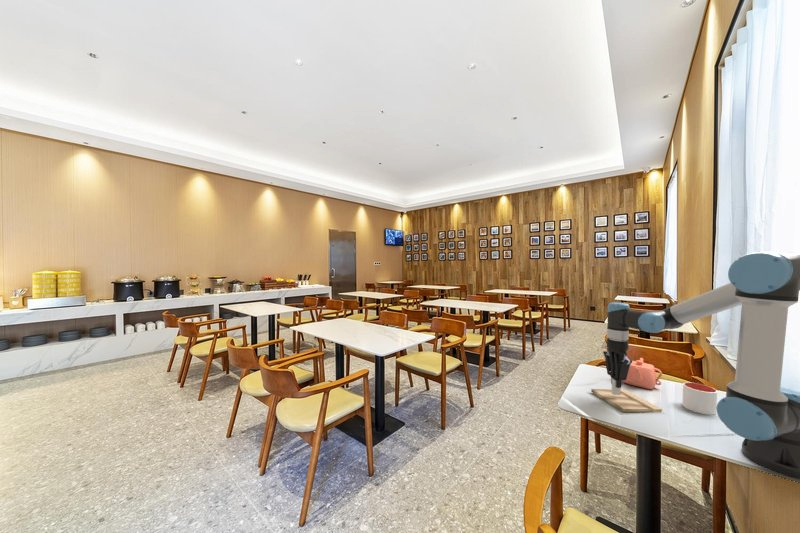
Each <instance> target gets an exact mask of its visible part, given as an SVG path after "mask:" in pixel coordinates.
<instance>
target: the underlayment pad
mask: <svg viewBox="0 0 800 533" xmlns="http://www.w3.org/2000/svg"><path fill="white" fill-rule="evenodd" d="M585 392H586V393H585V394H588V395H589V396H591V397H593V398H594V399H595V400H597V401H599V402H600V403H601V404H603V405H605V406H606V407H608V408H609V409H612V411H614V412H616V413H617V414H618V415H623V416H624V415H626V416H627V415H658V414H659V415H660V414H666V412H663V409H662V408H660V407H658V406H657V405H655V404H653V403H651V402H650V401H648V400H647V399H644V398H642V397H640V396H638V395H636V394H635V393H632V392H630V391H628V390H627V389H621V390H620V392H621V393H623V394H625V395H627V396H629V397H630V398H632V399H634V400H636V401H638V402H639V403H641V404H643V405H645V406H647V407H648V408H650V409H652V410H651V412H623V411H621V410H620V409H618V408H617V407H615V406H613V405H612V404H610V403H609V402H607V401H605V400H604V399H602V398H601V397H599V396H597V395H596V394H594V393H593V392H591V391H585Z"/></svg>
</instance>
